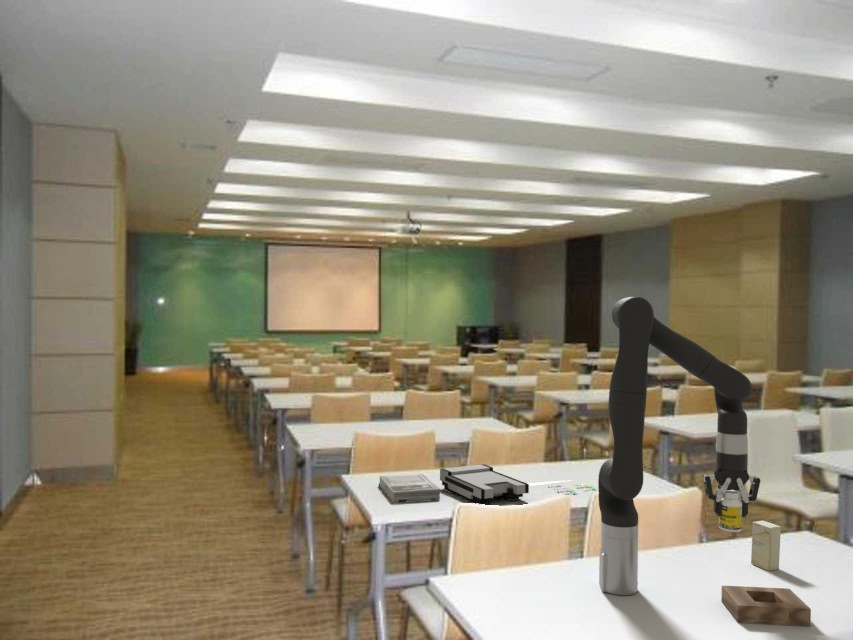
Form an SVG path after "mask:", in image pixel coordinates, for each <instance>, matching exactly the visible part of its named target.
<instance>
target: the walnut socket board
mask: <svg viewBox="0 0 853 640" xmlns="http://www.w3.org/2000/svg"><path fill="white" fill-rule="evenodd" d="M720 601H721V603H722V604H723V605H724V607H725V608H726V610H727V611H728V612H729V613H730V615H731V617H733V619H734V620H735V621H736V622H737V623H738V624H753V625H754V624H755V625H756V624H757V625H759V624H760V625H774V626H775V625H777V626H778V625H779V626H793V625H795V627H796V626H797V625H803V626H802V627H811V626H812V625H811V624H812V623H811V621H812V620H811V618H812V616H811V615H812V614H811V611H812V609H811V608H810V606H808V604H806V603H805V602H804V601H803V600H802V599H801V597H799V596H798V595H797V594H796V593H794V591H792V590H791V588H782V587H781V588H780V587H764V586H759V587H758V586H742V585H741V586H737V585H721V599H720ZM805 625H806V626H805ZM797 627H798V626H797Z"/></svg>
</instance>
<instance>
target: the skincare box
mask: <svg viewBox="0 0 853 640" xmlns="http://www.w3.org/2000/svg"><path fill="white" fill-rule="evenodd" d="M781 528H782V526H781V525H779V524H775V523H773V522H772V523H771V522H769V521H766V520H757V521H753V522H752V535H751V555H750V556H751V560H750V561H751V562H750V563H751V565H754V566H756V567H759V568H760V569H763V570H765V571H768V572H770V571H774V570H779V569H780V555H781V553H780V552H781V551H780V550H781V549H780V548H781Z"/></svg>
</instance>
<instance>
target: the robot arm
mask: <svg viewBox="0 0 853 640" xmlns="http://www.w3.org/2000/svg"><path fill="white" fill-rule="evenodd" d="M611 319H612V321H613V324H614V326H616V328H618V335H619V336H618V340H619V341H618V353H617V358H616V360H615V364H614V367H613V370H612V373H611V377H610V382H609V388H608V389H609V391H608V415H609V420H610V421H609V422H610V426H611V430H612V431H611V432H612V435H613V436H612V437H613V455H612V457H611V458H608V459H607V460H605V461H604V462H603V463H602V464H601V466H600V468H599V471H598V481H597V483H598V488H597V490H598V491H599V493H598V506H599V507H598V508H599V511H600V515H601V516H600V517H601V519H600V520H601V522H600V525H601V526H600V527H601V529H600V536H601V537H600V547H599V555H598V556H599V557H598V559H599V560H598V561H599V565H598V569H599V572H598V573H599V574H598V576H599V577H598V584H599V587H600V590H601V591H602V593H608V594H612V595H616V596H631V595H634V594H636V593H637V592H638V586H639V584H638V583H639V582H638V577H639V576H638V575H639V574H638V572H639V570H638V569H639V566H638V565H639V513H638V511H637V508H636V506H635V502H634V499H635V498H636V497H637V496H638V495H639V494H640V493H641V491H642V489H643V486H644V485H643V484H644V459H643V458H644V457H643V446H644V445H643V442H644V432H645V431H644V430H645V419H646V418H645V417H646V410H647V409H646V408H647V394H648V373H649V370H648V367H649V366H648V365H649V362H648V360H649V359H648V357H649V349H650V348H649V346H652V347H654V348H655V349H656V350H659V352H661V353H662V354H664V355H665V356H666V357H668V358H669V359H670V360H672V361H673V362H675V363H676V364H677V365H679V366H680V367H681V368H682V369H684V370H686V371H687V372H688V373H689V374H691V375H693V376H694V377H695V378H698V379H699V380H700V381H703V382H705V383H707V384H709V385H710V386H712V387H713V388H714V389H713V391H714V400H715V401H714V402H715V406H716V410H717V428H716V429H717V434H716V440H715V470H714V473H712V474H706V473H704V474H702V480H703V481H702V482H703V486H704V491H705V496H706V497H707V498H708V499H710V500H713V501H712V502H713V507H712V508H713V510H712V511H713V513H714V514H715V516H716V517H719V516H721V502H720V501H721V499H722V498H723V495H724V494H725V492H726V490H735V491H738V492H739V498H740V501H741V502H742V518H746V517H747V516H748V514H749V503H750V502H752V501H753V502H755V501H757V497H758V493H759V488H760V484H761V481H762V480H761V478H760V477H758V476H756V475H749V472H748V469H749V468H748V465H749V458H748V457H749V439H748V415H747V413H746V411H745V410H744V409H743V402H742V401H744V400H747V399H748V398H749V397H750V396H751V395H752V391H753V385H752V382H751V381H750V379H749V378H748V377H747V376H746V375H745V374H743V373H742V372H740V371H739V370H737V369H735V368H734V367H732V366H731V365H729V364H727V363H725V362H723V361H722V360H720V359H718V358H717V356H715V355H714V354H712V353H711V352H709V351H708V350H707V349H705V348H704V347H702V345H699V344H698V343H696V342H694V341H693V340H691V339H689V338H688V337H686V336H684V335H682V334H680V333H679V332H676V331H675V330H673V329H672V328H669V326H666V324H663V322H661V321H660V320H659V319H657V318H656V317H655V313H654V309H653V306H652V304H651V303H650V302H649V301H648V299H646V298H644V297H641V296H628V297H624V298H622V299H620V300H618V301H617V302H615V304H614V305H613V307H612V309H611ZM714 480H716V482H717V486H716V488H715V492H713V487H712V484H713V483H714ZM748 481H749V484H750V485H749V487H750V488H749V491H748V494H747V489H746V488H745V485H746V484H747V482H748Z"/></svg>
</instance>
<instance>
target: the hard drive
mask: <svg viewBox="0 0 853 640" xmlns="http://www.w3.org/2000/svg"><path fill="white" fill-rule="evenodd" d="M379 485H380V486H379ZM378 486H379V487H380V489H381V488H382V489H383V490H382V489H381V490H382V491H383V492H384V494H385V493H386V494H387V495H388V496H387V495H386V494H385V495H386V496H387V497H388V498H389V500H390V499H391V500H392V501H393V502H399V503H407V502H406V501H415V502H424V501H423V500H431V501H440V500H439V499H441V497H440V496H441V495H440V494H441V490H440V489H441V488H440V487H439V486H437V485H436V484H435V483H434V482H433V481H432V480H430V479H429V478H428V477H427V476H426V475H425V474H424V473H411V474H410V473H409V474H391V475H390V474H387V475H385V474H384V475H379V482H378ZM391 500H390V501H391ZM392 501H391V502H392ZM393 502H392V503H393Z"/></svg>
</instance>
